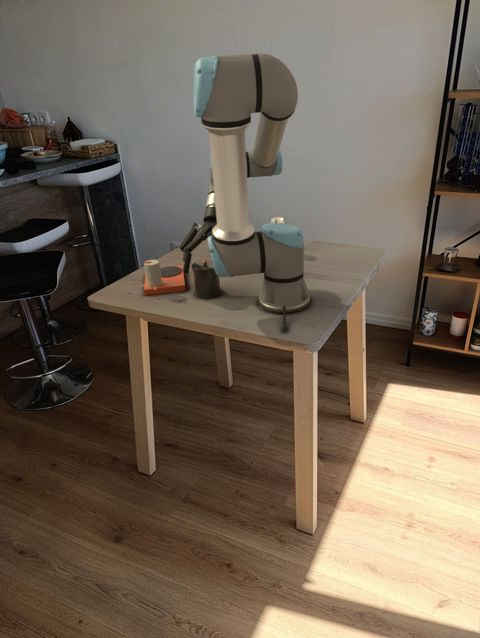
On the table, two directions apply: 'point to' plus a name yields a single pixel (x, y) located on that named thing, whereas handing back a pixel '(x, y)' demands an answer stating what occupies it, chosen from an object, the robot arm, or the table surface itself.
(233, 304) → the table surface
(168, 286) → the hot plate
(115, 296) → the table surface
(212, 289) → the enamel pot
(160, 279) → the hob knob
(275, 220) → the wineglass
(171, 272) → the burner
